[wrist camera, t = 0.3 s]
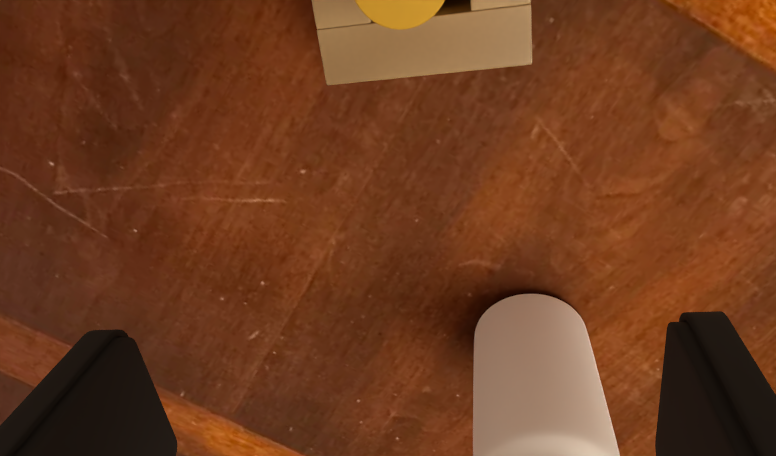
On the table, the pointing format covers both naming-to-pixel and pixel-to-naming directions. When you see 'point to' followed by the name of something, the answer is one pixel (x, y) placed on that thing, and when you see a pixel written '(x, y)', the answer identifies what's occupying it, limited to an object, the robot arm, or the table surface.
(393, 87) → the table surface
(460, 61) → the stand
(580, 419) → the can
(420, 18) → the peg
